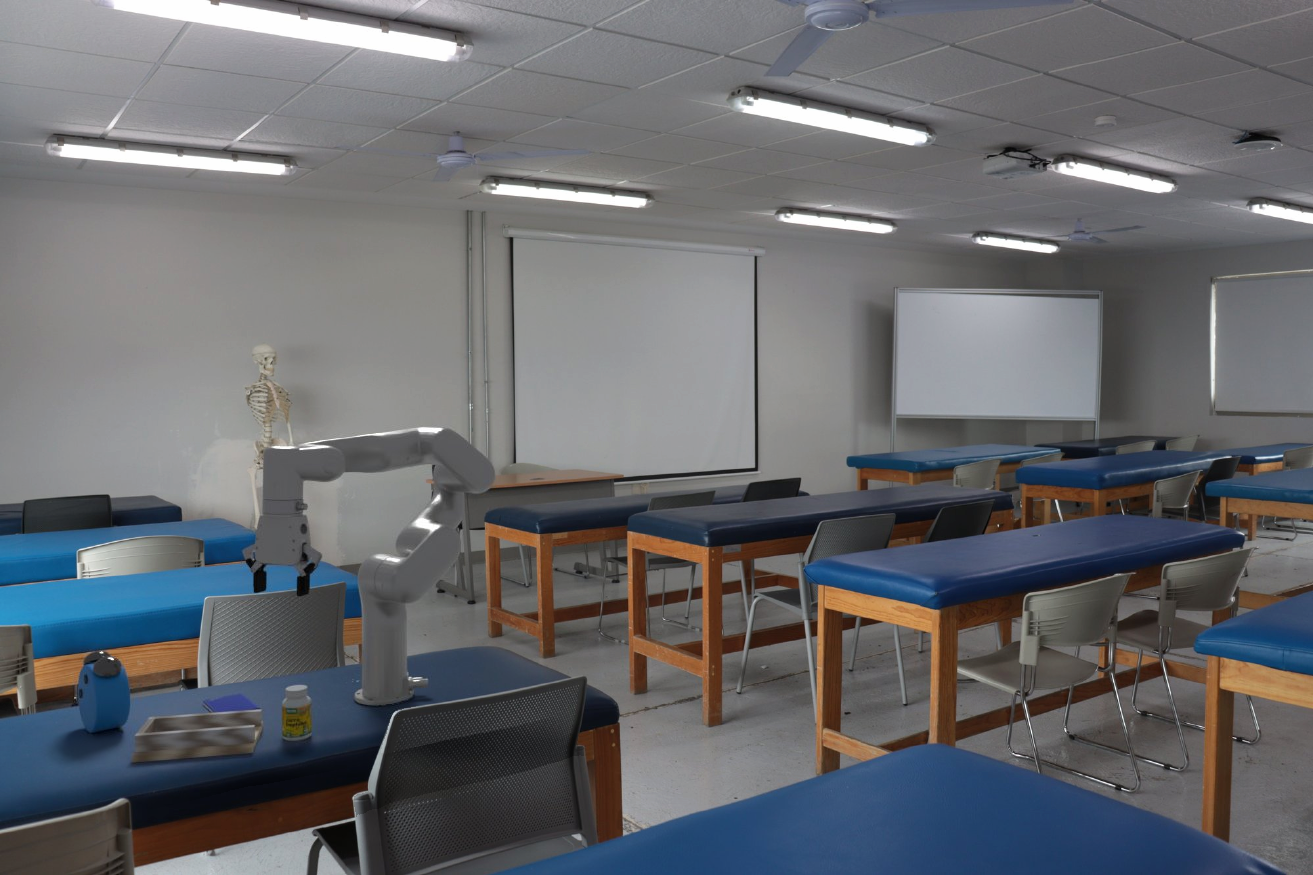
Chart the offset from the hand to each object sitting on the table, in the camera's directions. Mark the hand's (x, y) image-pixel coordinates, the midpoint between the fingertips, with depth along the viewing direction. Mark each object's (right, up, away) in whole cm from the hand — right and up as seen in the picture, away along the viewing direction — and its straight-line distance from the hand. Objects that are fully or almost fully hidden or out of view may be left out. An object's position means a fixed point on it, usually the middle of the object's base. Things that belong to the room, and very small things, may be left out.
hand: (281, 593), depth 187 cm
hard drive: (-15, -27, +11) cm, 33 cm away
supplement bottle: (+5, -27, -5) cm, 28 cm away
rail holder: (-11, -27, -10) cm, 31 cm away
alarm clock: (-34, -27, -3) cm, 43 cm away
